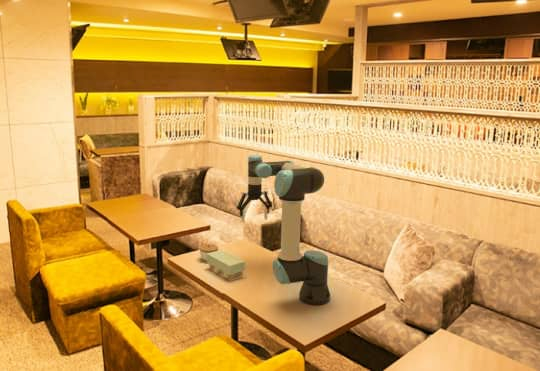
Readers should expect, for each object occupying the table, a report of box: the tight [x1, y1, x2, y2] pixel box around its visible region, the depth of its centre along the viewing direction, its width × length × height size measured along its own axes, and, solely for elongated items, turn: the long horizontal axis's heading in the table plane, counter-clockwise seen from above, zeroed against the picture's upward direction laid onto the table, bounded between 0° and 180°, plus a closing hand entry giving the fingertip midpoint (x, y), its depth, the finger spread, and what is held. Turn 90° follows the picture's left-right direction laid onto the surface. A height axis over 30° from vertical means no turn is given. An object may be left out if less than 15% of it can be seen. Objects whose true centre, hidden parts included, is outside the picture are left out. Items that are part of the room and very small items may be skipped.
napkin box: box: [208, 263, 243, 282], centre depth 251 cm, size 20×8×8 cm, turn 40°
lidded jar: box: [199, 243, 219, 263], centre depth 269 cm, size 11×11×9 cm
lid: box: [206, 249, 246, 275], centre depth 251 cm, size 22×10×5 cm, turn 40°
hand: (254, 220), depth 258 cm, fingers open, 13 cm apart
